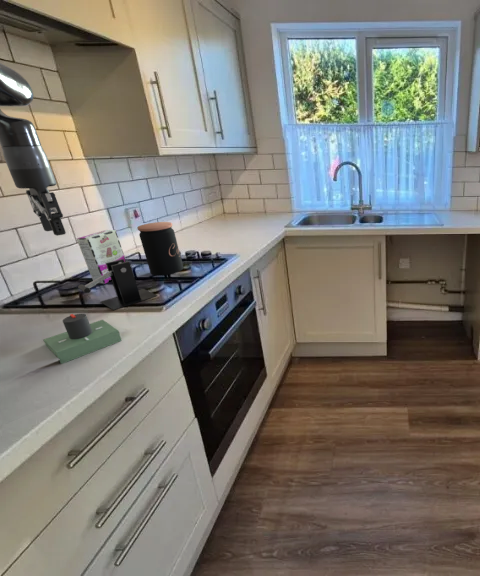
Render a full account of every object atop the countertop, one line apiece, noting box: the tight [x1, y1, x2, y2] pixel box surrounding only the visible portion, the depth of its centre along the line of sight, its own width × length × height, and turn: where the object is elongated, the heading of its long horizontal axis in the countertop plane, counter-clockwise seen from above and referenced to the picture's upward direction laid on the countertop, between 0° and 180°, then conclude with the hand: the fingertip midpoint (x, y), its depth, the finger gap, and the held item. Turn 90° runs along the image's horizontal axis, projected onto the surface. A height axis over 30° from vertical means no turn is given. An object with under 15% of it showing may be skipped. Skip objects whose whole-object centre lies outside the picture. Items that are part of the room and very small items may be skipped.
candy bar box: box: [76, 229, 127, 285], centre depth 127 cm, size 11×5×16 cm, turn 170°
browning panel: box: [42, 319, 122, 365], centre depth 87 cm, size 12×10×3 cm
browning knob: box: [62, 313, 93, 339], centre depth 85 cm, size 4×4×5 cm
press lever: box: [77, 262, 122, 294], centre depth 103 cm, size 12×5×2 cm, turn 143°
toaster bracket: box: [100, 259, 158, 311], centre depth 108 cm, size 12×10×13 cm
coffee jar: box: [136, 221, 184, 277], centre depth 130 cm, size 11×11×18 cm
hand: (55, 232), depth 93 cm, fingers open, 8 cm apart
